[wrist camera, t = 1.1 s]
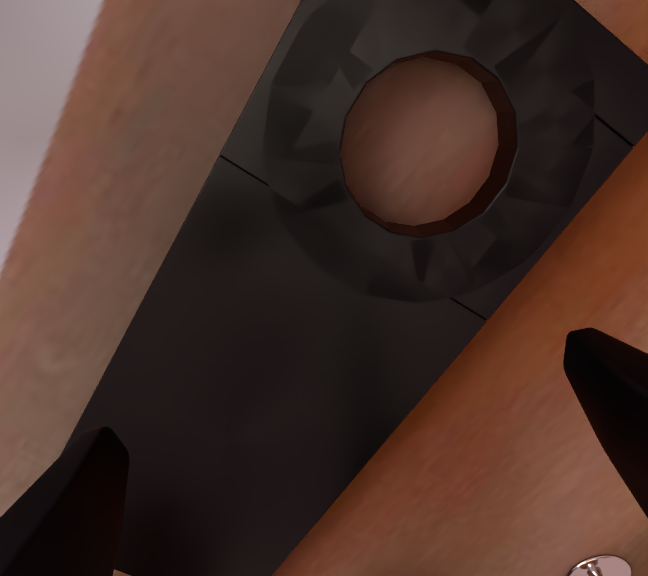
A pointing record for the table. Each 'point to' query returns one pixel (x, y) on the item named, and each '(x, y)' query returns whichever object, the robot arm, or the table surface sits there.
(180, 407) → the plant stand
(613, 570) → the wineglass
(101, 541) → the robot arm
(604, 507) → the table surface
